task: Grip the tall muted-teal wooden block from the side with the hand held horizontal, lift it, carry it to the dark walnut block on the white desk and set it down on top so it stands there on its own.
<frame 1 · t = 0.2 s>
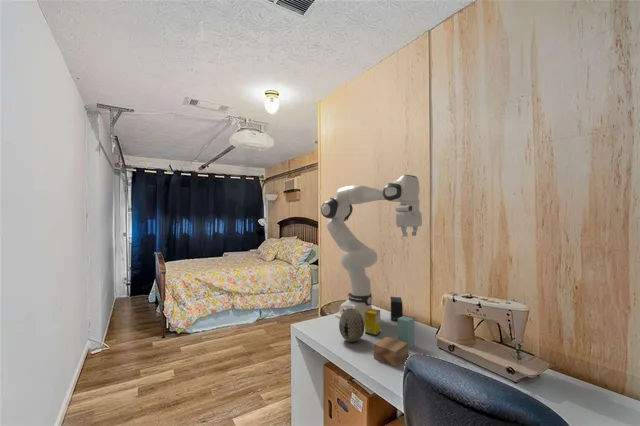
hand: (409, 236, 142), 47 cm above the table, tool pointing down, fingers open, 8 cm apart
walnut block: (391, 358, 118), on the table
small box: (396, 318, 163), on the table
teal block: (406, 345, 129), on the table
supplement box: (372, 333, 143), on the table
decorative egg: (352, 341, 135), on the table
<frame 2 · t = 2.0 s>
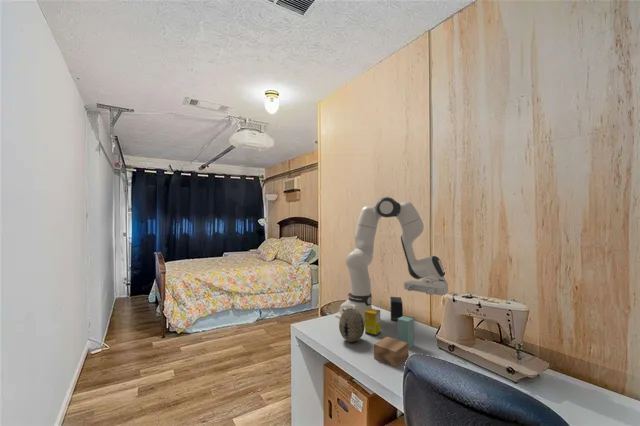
hand: (417, 290, 137), 22 cm above the table, tool horizontal, fingers open, 8 cm apart
nothing on the table moved.
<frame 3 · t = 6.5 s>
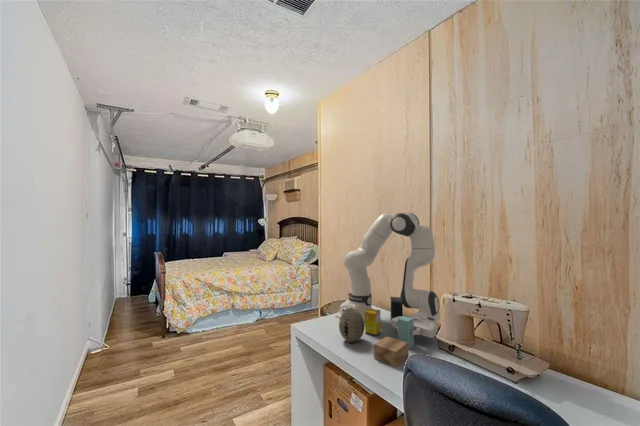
hand: (404, 331, 128), 7 cm above the table, tool horizontal, fingers closed on teal block, 5 cm apart
teal block: (406, 345, 129), on the table, touching gripper
everything else where it was.
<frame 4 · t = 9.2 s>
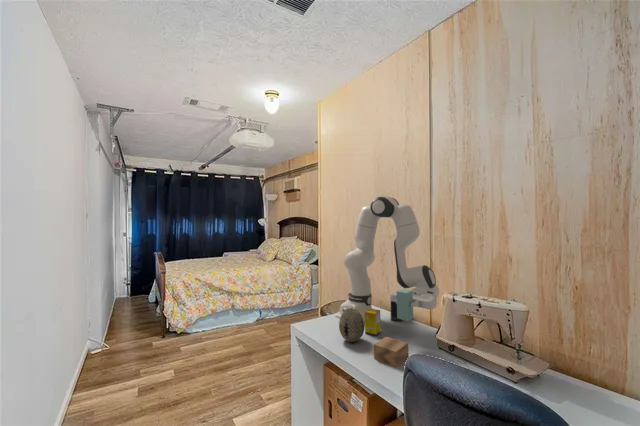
hand: (403, 303, 128), 19 cm above the table, tool horizontal, fingers closed on teal block, 5 cm apart
teal block: (405, 318, 129), point 12 cm above the table, touching gripper
everything else where it was.
when the fingers open (14 cm above the table, at t = 12.0 s): teal block drops 2 cm, resting on walnut block.
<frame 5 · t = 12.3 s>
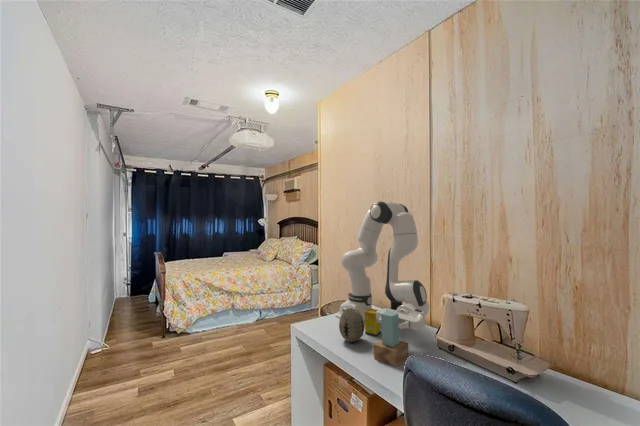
hand: (389, 323, 117), 14 cm above the table, tool horizontal, fingers open, 8 cm apart
walnut block: (391, 358, 118), on the table, touching teal block
teal block: (390, 343, 118), point 6 cm above the table, touching walnut block
everything else where it was.
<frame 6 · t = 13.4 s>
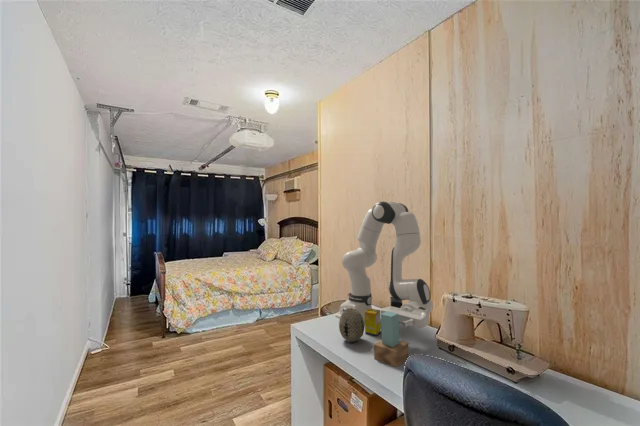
hand: (393, 321, 120), 14 cm above the table, tool horizontal, fingers open, 8 cm apart
nothing on the table moved.
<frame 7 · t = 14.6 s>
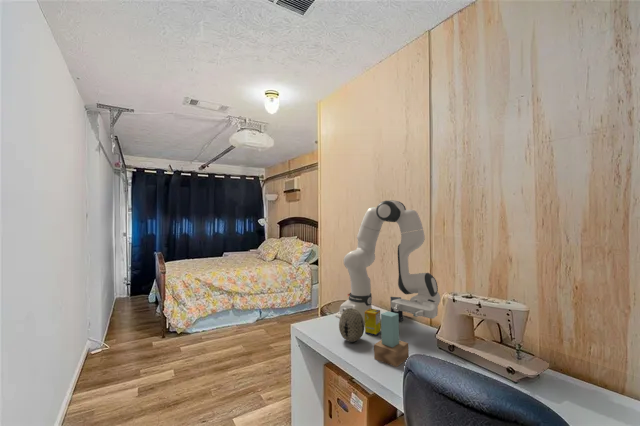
hand: (404, 312, 127), 15 cm above the table, tool horizontal, fingers open, 8 cm apart
nothing on the table moved.
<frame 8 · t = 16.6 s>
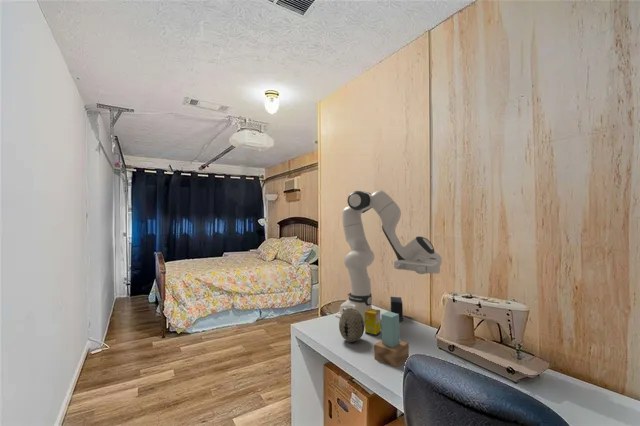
hand: (407, 268, 129), 34 cm above the table, tool horizontal, fingers open, 8 cm apart
nothing on the table moved.
at the end: teal block inside the target area on the walnut block (0.2 cm from its centre), point 6.1 cm above the walnut block's base; teal block tilted 1°; the gripper is holding nothing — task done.
